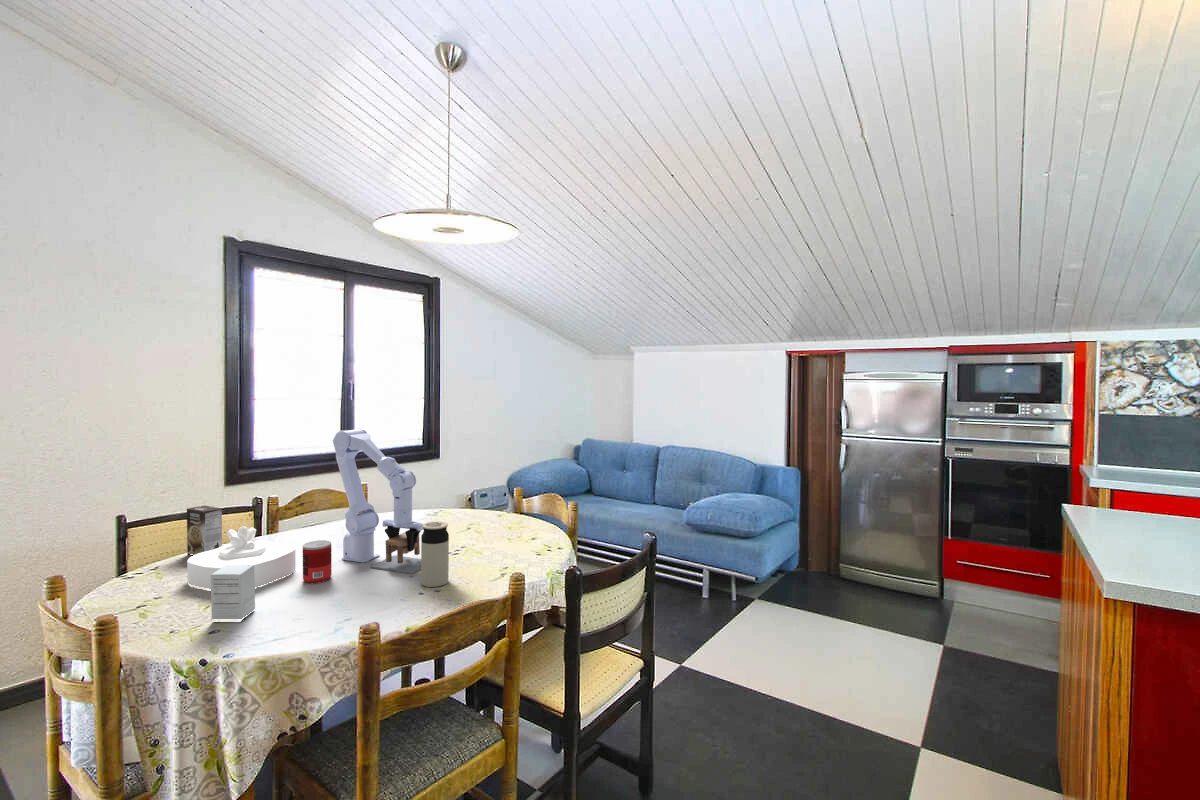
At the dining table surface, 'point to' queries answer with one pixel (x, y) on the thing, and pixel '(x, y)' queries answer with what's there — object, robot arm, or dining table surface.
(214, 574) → the supplement box
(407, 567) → the mat
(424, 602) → the dining table surface
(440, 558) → the travel mug
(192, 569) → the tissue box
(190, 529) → the coffee box
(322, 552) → the canned food
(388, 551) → the stool
